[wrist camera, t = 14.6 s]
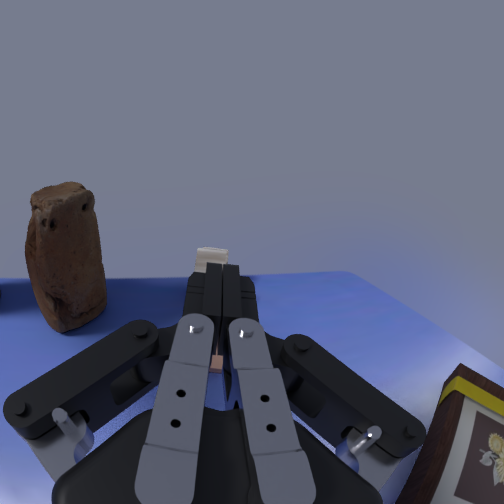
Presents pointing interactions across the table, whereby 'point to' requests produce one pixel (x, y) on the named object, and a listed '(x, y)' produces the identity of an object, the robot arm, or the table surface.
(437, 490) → the picture frame
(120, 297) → the table surface
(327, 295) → the table surface
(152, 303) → the table surface
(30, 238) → the block
